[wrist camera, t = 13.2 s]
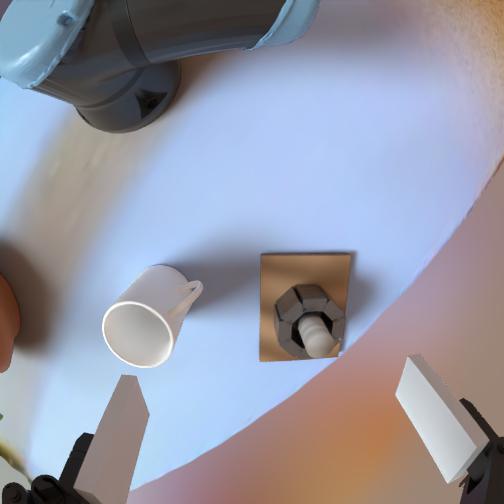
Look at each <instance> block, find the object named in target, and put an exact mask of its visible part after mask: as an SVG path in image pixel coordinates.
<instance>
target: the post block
mask: <svg viewBox="0 0 504 504" xmlns="http://www.w3.org/2000/svg"><path fill="white" fill-rule="evenodd" d="M350 262H351V255H350V254H348V253H327V254H261V280H260V341H259V360H260V362H271V361H292V360H307V359H298V357H297V356H296V357H295V358H294V357H293V356H291V355H290V354H289V353H288V352H286V351H285V350H284V349H283V348H282V347H280V346H279V342H278V341H277V337H276V332H275V328H274V324H273V321H274V305H275V304H276V300H277V299H279V298H280V297H281V296H282V295H283V294H284V293H285V292H286V291H287V290H288V289H289V288H290V287H293V288H294V289H295V285H308V284H317V285H318V287H319V286H321V287H322V288H323V289H324V290H325V291H326V292H327V293H328V294H329V295H330V296H331V297H332V298H333V300H334V301H335V302H336V304H337V305H338V306H339V308H340V309H341V310H342V312H343V313H344V314H345V307H346V299H347V291H348V282H349V272H350ZM292 328H294V329H295V330H299V332H300V335H301V338H302V340H303V343H304V345H305V348H306V350H307V353H308V354H309V356H311V357H313V358H308V359H320V358H331V357H338V354H339V348H340V343H338V344H337V345H336V346H335V347H334V340H333V338H332V337H331V335H330V333H329V331H328V329H327V328H326V326H325V324H324V322H323V321H322V311H314V312H305V313H304V314H302V315H301V316H300V317H299V318H298V319H297V320H296V321H295V322H293V323H292ZM339 339H340V341H341V338H339Z"/></svg>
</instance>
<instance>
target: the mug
mask: <svg viewBox="0 0 504 504" xmlns="http://www.w3.org/2000/svg"><path fill="white" fill-rule="evenodd" d="M195 287H196V289H195V290H194V291H193V292H192V290H191V289H192V288H195ZM202 291H203V284H202V283H201V282H200V281H197V280H196V281H191V282H188V281H187V279H186V278H185V277H184V276H183V275H182V274H181V273H180V272H179V271H177V270H176V269H174V268H172V267H169V266H165V265H154V266H150V267H148V268H146V269H144V270H143V271H142V272H141V273H140V274H139V275H138V276H137V278H136V280H135V282H134V283H133V284H132V285H131V286H130V287H129V288H128V289H127V290H126V291H125V292H124V293H123V294H122V295H121V296H120V297H119V299H118V300H117V301H116V302H115V303H114V304H113V305H112V306H111V307H110V308H109V310H108V311H107V312H106V314H105V316H104V318H103V323H102V330H103V335H104V339H105V341H106V343H107V345H108V346H109V348H110V349H111V351H112V352H113V353H114V354H115V355H116V356H117V357H118V358H120V359H121V360H123V361H124V362H126V363H128V364H130V365H133V366H136V367H141V368H151V367H156V366H159V365H161V364H162V363H164V362H165V361H166V360H167V359H168V358H169V357H170V355H171V353H172V351H173V348H174V346H175V343H176V340H177V337H178V335H179V332H180V329H181V326H182V323H183V321H184V318H185V315H186V314H187V312H188V311H189V309H190V307H191V304H192V303H193V302H194V301H195V300H196V299H197V298H198V297H199V295H200V294H201V293H202Z"/></svg>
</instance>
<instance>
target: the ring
mask: <svg viewBox="0 0 504 504" xmlns="http://www.w3.org/2000/svg"><path fill="white" fill-rule="evenodd" d="M314 311H322V321H323V322H324V324H325V326H326V328H327V329H328V331H329V333H330V335H331V337H332V338H333V340H334V347H335V346H336V345H337V344H338V343H340V342H341V341H340V339H339V338H343V333H344V327H345V320H346V318H345V316H344V315H345V314H344V313H343V312H342V310H341V309H340V308H339V306H338V305H337V304H336V302H335V301H334V300H333V298H332V297H331V296H330V295H329V294H328V293H327V292H326V291H325V290H324V289H323V288H322V287H321V286H319V287H318V285H317V284H308V285H295V289H294V288H293V287H290V288H289V289H288V290H287V291H286V292H285V293H284V294H283V295H282V296H281V297H280V298H279V299H277V300H276V304H275V305H274V321H273V324H274V328H275V332H276V337H277V341H278V342H279V346H280V347H282V348H283V349H284V350H285V351H286V352H288V353H289V354H290V355H291V356H293V357H294V358H295V357H296V356H297V357H298V359H308V358H313V357H311V356H309V354H308V353H307V350H306V348H305V345H304V343H303V340H302V338H301V335H300V332H299V330H295V329H294V328H292V323H293V322H295V321H296V320H297V319H298V318H299V317H300V316H301V315H302V314H304V313H305V312H314Z"/></svg>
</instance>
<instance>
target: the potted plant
mask: <svg viewBox="0 0 504 504" xmlns="http://www.w3.org/2000/svg"><path fill="white" fill-rule="evenodd" d="M19 330H20V313H19V308H18V305H17V301H16V299H15V296H14V294H13V292H12V290H11V288H10V286H9V284H8V283H7V281H6V280H5V278H4V277H3V276H2V275H1V273H0V373H3V372H5V371H6V370H7V369H8V368H9V366H10V363H11V358H12V354H13V349H14V338H15V337H16V336H17V335H18V333H19ZM2 418H3V415H2V414H0V420H1V419H2Z"/></svg>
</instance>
